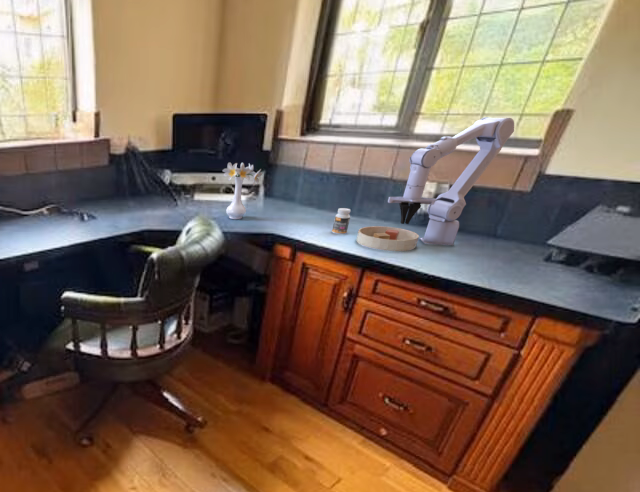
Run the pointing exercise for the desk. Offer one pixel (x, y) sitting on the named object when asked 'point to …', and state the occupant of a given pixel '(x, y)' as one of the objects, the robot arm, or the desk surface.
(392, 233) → the terracotta block
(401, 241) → the bowl
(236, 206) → the flower vase
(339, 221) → the pill bottle
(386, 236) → the beech block
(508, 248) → the desk surface
